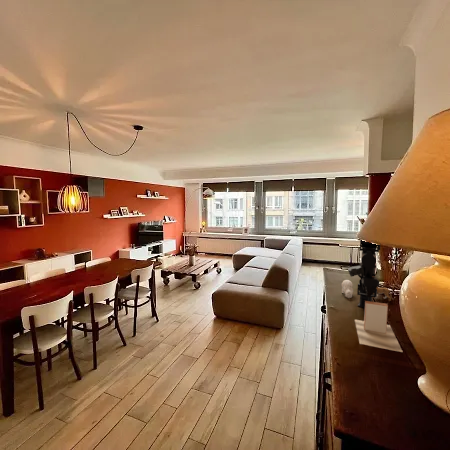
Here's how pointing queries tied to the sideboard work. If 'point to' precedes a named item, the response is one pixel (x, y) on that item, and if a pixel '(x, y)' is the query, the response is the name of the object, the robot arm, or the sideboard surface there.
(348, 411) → the sideboard surface
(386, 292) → the lion figurine
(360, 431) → the sideboard surface
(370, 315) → the tile
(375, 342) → the board
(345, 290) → the white rounded lump
